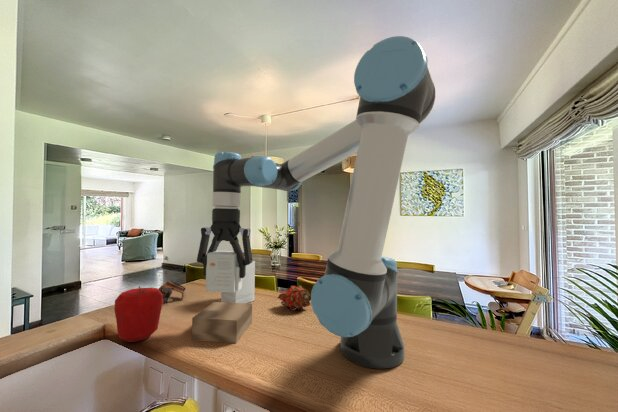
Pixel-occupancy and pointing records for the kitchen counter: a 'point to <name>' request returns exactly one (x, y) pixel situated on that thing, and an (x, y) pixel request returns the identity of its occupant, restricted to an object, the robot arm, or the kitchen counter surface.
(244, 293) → the supplement box
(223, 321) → the walnut block
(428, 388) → the kitchen counter surface
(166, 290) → the brown grey ring
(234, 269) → the small box
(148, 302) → the apple
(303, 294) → the dragon fruit
